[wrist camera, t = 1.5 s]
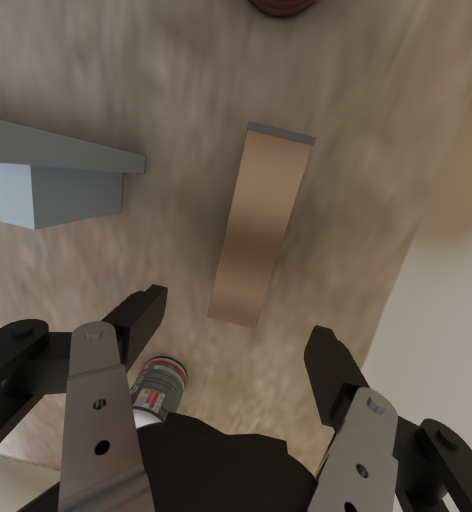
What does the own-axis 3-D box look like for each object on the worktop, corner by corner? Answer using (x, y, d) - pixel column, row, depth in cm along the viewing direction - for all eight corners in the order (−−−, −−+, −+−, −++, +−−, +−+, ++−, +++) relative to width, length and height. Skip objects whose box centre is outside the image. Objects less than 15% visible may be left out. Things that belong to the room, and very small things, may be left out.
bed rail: (250, 140, 19) (248, 121, 13) (297, 151, 19) (316, 137, 13) (218, 284, 23) (206, 317, 18) (255, 293, 23) (255, 329, 18)
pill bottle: (146, 350, 27) (88, 439, 18) (191, 362, 27) (156, 457, 18) (142, 385, 29) (87, 482, 20) (184, 395, 29) (149, 498, 20)
